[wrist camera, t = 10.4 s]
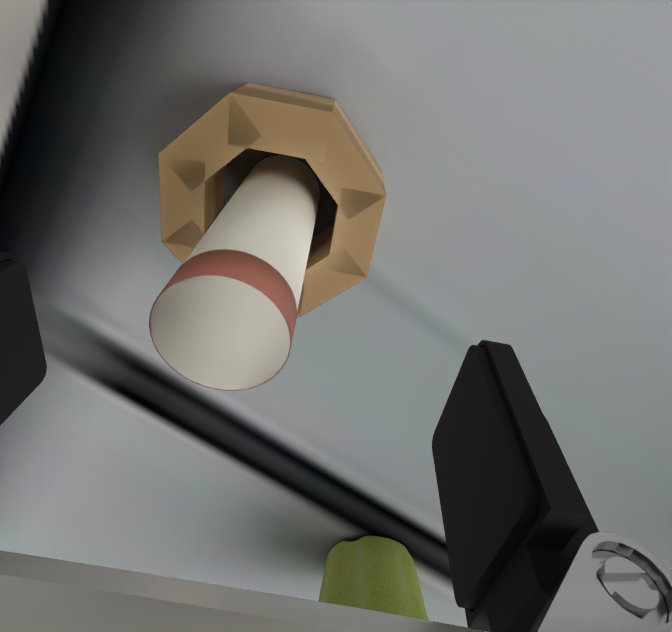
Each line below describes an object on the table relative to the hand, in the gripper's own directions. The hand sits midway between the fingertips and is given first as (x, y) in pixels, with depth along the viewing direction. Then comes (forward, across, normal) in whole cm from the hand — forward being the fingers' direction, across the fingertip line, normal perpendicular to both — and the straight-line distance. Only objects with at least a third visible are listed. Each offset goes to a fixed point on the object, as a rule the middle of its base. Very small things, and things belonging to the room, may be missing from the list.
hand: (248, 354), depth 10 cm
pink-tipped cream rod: (+10, +1, 0) cm, 10 cm away
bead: (+10, +1, 0) cm, 10 cm away
